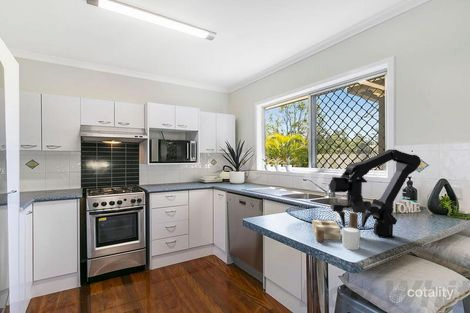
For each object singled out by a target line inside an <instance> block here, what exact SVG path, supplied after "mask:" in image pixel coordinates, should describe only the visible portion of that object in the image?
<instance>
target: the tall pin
mask: <svg viewBox="0 0 470 313" xmlns="http://www.w3.org/2000/svg"><path fill="white" fill-rule="evenodd" d="M358 219H359V214H358V213H355V212H349V218H348V221H349V223H348V227H352V228H356V229H358V223H359V222H358Z"/></svg>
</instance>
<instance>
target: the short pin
mask: <svg viewBox="0 0 470 313" xmlns="http://www.w3.org/2000/svg"><path fill="white" fill-rule="evenodd" d="M315 240H316V243H324V242H325V239H324V230H323V229H322V228H316V237H315Z"/></svg>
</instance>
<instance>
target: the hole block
mask: <svg viewBox="0 0 470 313" xmlns="http://www.w3.org/2000/svg"><path fill="white" fill-rule="evenodd" d="M311 223H312V224H311V225H312V226H311V230H312V232H313V235H314V237H315V238H316V228H322V229H323V230H324V240H341V235H342V227H341V226H339V224H338V223H337V222H336V220H321V219H312V222H311Z"/></svg>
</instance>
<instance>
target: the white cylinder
mask: <svg viewBox="0 0 470 313" xmlns="http://www.w3.org/2000/svg"><path fill="white" fill-rule="evenodd" d="M361 233H362V231H361V229H359V228H357V229H356V228H352V227H349V226H345V227H344V226H342V227H341V239H342V247H343V248H344V247H345V248H344V249H346V248H347V250H350V249H351V250H352V251H357V250H359V246H360V240H361V239H360V238H361Z"/></svg>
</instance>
